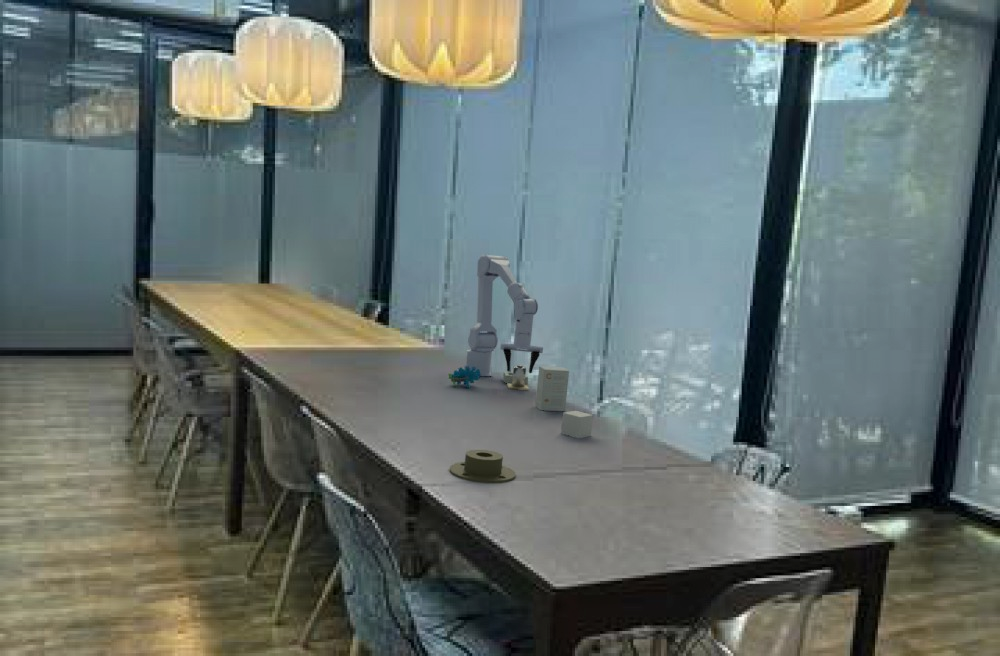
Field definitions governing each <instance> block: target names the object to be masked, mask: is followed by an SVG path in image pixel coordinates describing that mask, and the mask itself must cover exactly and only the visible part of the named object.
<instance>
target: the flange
mask: <svg viewBox="0 0 1000 656" xmlns="http://www.w3.org/2000/svg"><path fill="white" fill-rule="evenodd" d="M503 458H504V455H503V454H502V453H500V452H498V451H493V450H489V449H488V450H487V449H471V450H470V449H469V450H467V451H466V452H465V458H464V461H460V462H456V463H453V464H452V465H450V467H449V473H450V474H451V475H453V476H454V477H457V478H459V479H462V480H465V481H470V482H475V483H482V484H483V483H484V484H500V483H502V484H503V483H509V482H512V481H514V480H515V479H516V475H517V473H516V472H515V470H513V469H512V468H510V467H508V466H505V465H503V460H504V459H503Z"/></svg>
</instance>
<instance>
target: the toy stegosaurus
mask: <svg viewBox="0 0 1000 656" xmlns="http://www.w3.org/2000/svg"><path fill="white" fill-rule="evenodd" d="M465 369H466V370H465ZM465 369H464V368H463V367H459V368H458V369H457V370H454V371H453V373H448V379H449V380H450V381H451V382H452V387H453V388H456V384H457V385H461V384H462V382H463V385H466V389H470V387H471V386H470V384H474V383H475V381H479V379H480V378H479V377H482V376H481V373H480V370H479V369H477V370H476V367H472V370H469V366H466V367H465ZM475 370H476V371H475ZM474 371H475V372H474Z"/></svg>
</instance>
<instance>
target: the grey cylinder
mask: <svg viewBox="0 0 1000 656" xmlns="http://www.w3.org/2000/svg"><path fill="white" fill-rule="evenodd" d="M516 365H517V366H516ZM516 365H515V366H513V368H512V369H513V370H512V372H513V377H512V386H515V387H524V384H525V375H527V367H525V366H523V365H520V364H516Z"/></svg>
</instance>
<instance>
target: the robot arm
mask: <svg viewBox="0 0 1000 656" xmlns="http://www.w3.org/2000/svg"><path fill="white" fill-rule="evenodd" d="M510 265H511V262H510V261H509V259H508V258H507V256H505V255H491V254H490V255H489V254H482V255H481V256H480V257H479V259H478V260H477V273H476V274H477V275H476V276H477V277H478V279H477V280H478V281H477V307H476V308H477V310H476V311H477V312H476V324H475V325H473V326H472V327H471V328H470V329H469V334H468V335H469V336H468V342H467V343H468V346H469V348H470V349H466V351H465V352H466V354H465V363H464V368H463V369H464V370H466V369H465V367H466V366H469V370H472V367H476V370H477V369H479V370H480V373H481V376H480V377H490V376H491V377H492V373H491V364H492V354H493V352H494V350H495V349H496V348H497V346H498V344H499V339H498V333H497V328H496V327H495V326H494V325H493V324H492V313H493V312H492V311H493V282H494V281H495V280H496V279H498V278H499V277H500V279H501V280H502V281H503V283H504V284H505V286H506V287H507V289H506V290H507V294H508V296H509V297H510V300H511V301H512V303H514V305H513V311H514V314H515V315H514V318H515V320H516V321H515V330H514V337H513V338H514V340H513V343H500V351H501V350H502V351H503V355H504V358H505V361H506V372H511V358H512V351H517V352H518V351H519V352H528V353H530V359H529V360H530V363H529V368H528V373H529V374H532V373H533V369H534V367H535V364H536V362H537V360H538V359H539V358H540V354H543V353H544V352H543V351H544V347H543V346H536V345H531V342H532V333H533V332H532V331H533V326H534V325H533V324H534V323H533V322H534V315H536V314H537V312H538V309H539V305H538V301H537V299H536V298H533V297H532V296H530V295H529V294H528V292H527V291H526V289H525V288H524V285H523V283H520V282H517V281H516V278H515V277H514V274H513V272H512V270H511V269H510ZM476 370H475V371H476ZM475 371H474V372H475Z"/></svg>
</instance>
